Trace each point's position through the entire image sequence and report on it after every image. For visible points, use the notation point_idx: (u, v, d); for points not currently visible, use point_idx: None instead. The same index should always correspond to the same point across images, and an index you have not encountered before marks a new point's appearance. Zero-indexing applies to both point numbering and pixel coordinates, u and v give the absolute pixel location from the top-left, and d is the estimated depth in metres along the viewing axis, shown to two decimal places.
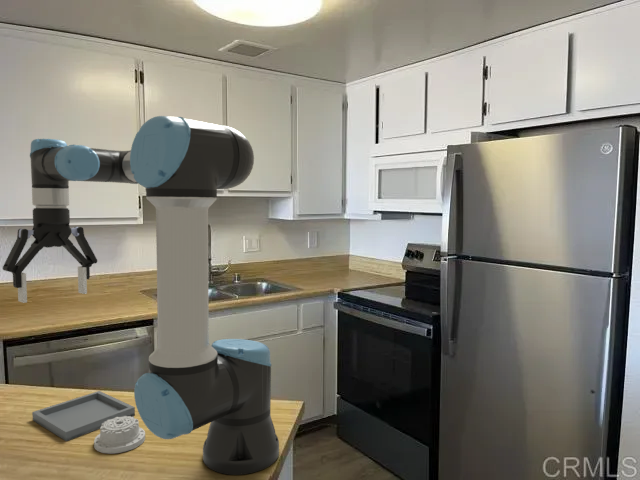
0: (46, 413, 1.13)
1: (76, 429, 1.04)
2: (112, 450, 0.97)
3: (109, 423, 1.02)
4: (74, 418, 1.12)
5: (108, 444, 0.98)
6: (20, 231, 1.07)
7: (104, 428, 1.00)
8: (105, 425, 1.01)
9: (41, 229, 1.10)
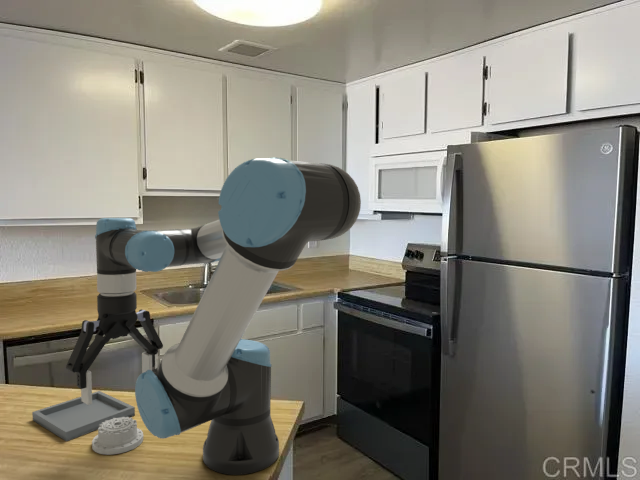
0: (46, 413, 1.13)
1: (76, 429, 1.04)
2: (110, 451, 0.97)
3: (107, 424, 1.01)
4: (74, 418, 1.12)
5: (106, 445, 0.98)
6: (85, 324, 0.95)
7: (102, 429, 0.99)
8: (103, 426, 1.00)
9: (107, 320, 0.97)
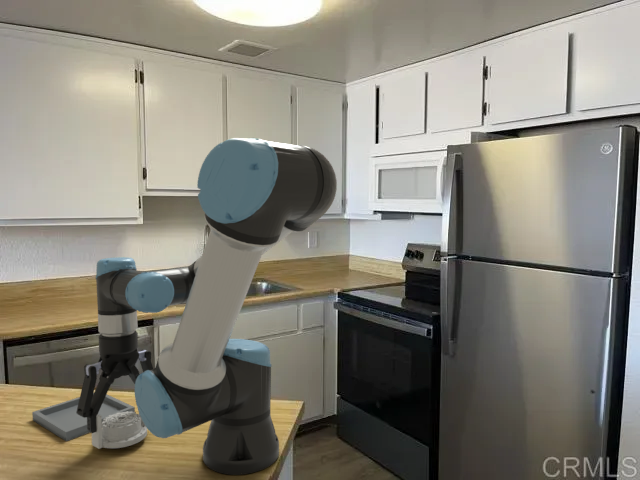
0: (46, 413, 1.13)
1: (76, 429, 1.04)
2: (114, 445, 0.97)
3: (111, 418, 1.01)
4: (74, 418, 1.12)
5: (110, 439, 0.98)
6: (87, 369, 0.95)
7: (106, 423, 0.99)
8: (107, 420, 1.00)
9: (108, 360, 0.98)
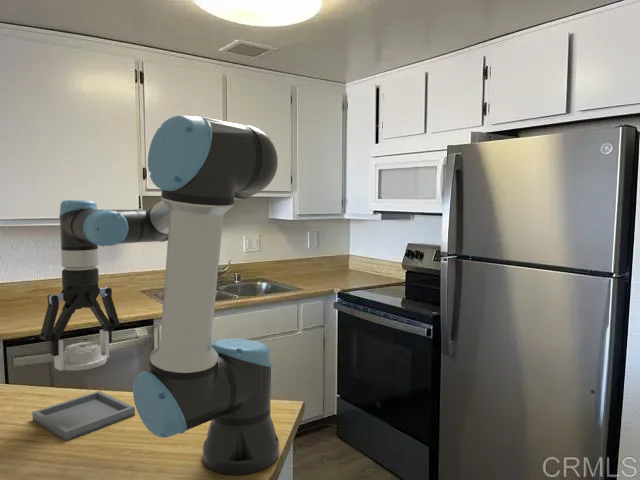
0: (46, 413, 1.13)
1: (76, 429, 1.04)
2: (74, 367, 1.07)
3: (73, 346, 1.12)
4: (74, 418, 1.12)
5: (71, 362, 1.08)
6: (50, 298, 1.05)
7: (68, 349, 1.10)
8: (69, 347, 1.11)
9: (70, 291, 1.08)
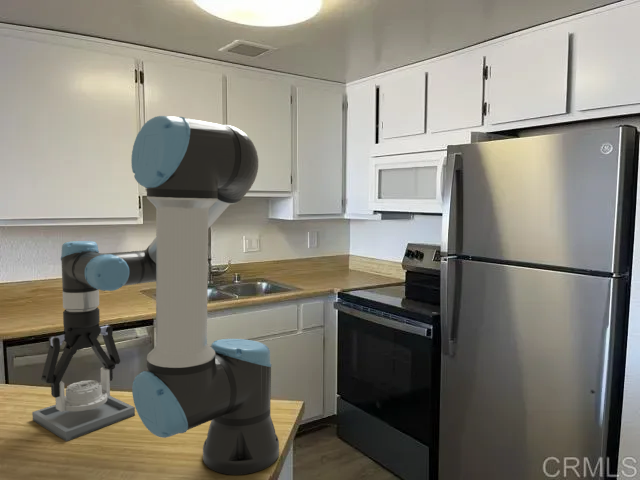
0: (46, 413, 1.13)
1: (76, 429, 1.04)
2: (75, 408, 1.08)
3: (74, 385, 1.12)
4: (74, 418, 1.12)
5: (72, 403, 1.09)
6: (51, 340, 1.06)
7: (69, 389, 1.11)
8: (70, 387, 1.11)
9: (71, 333, 1.09)
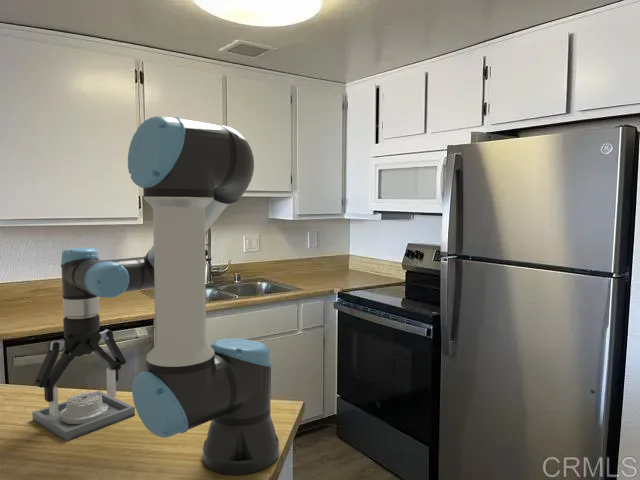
0: (46, 413, 1.13)
1: (76, 429, 1.04)
2: (76, 421, 1.08)
3: (74, 397, 1.12)
4: None
5: (73, 416, 1.09)
6: (52, 344, 1.06)
7: (69, 402, 1.11)
8: (71, 399, 1.12)
9: (72, 339, 1.09)
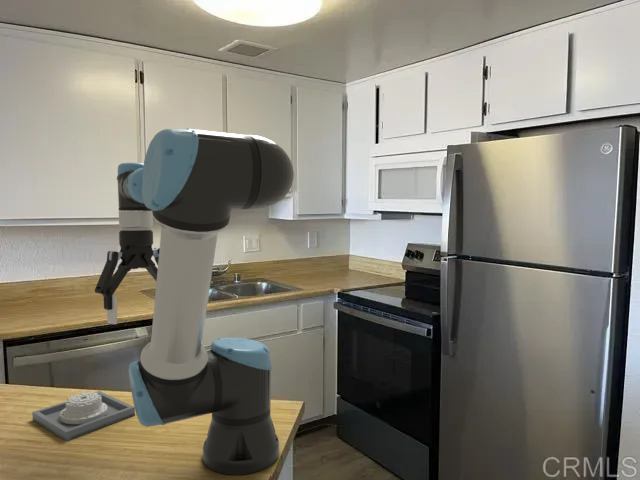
0: (46, 413, 1.13)
1: (76, 429, 1.04)
2: (75, 421, 1.08)
3: (74, 398, 1.12)
4: None
5: (72, 416, 1.09)
6: (111, 254, 1.09)
7: (69, 402, 1.11)
8: (70, 399, 1.11)
9: (129, 251, 1.12)
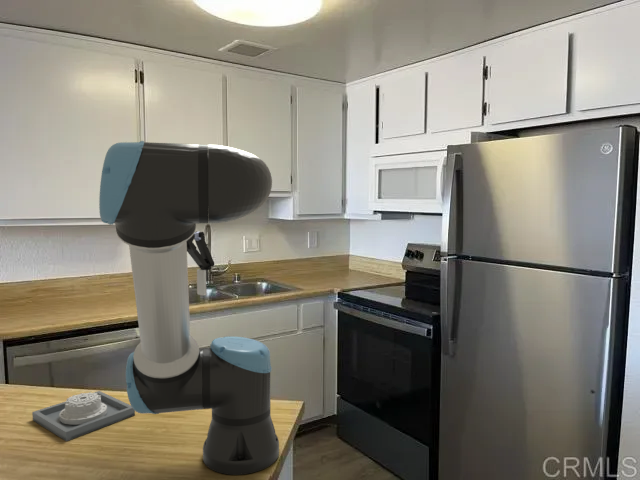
0: (46, 413, 1.13)
1: (76, 429, 1.04)
2: (74, 422, 1.08)
3: (73, 398, 1.12)
4: None
5: (71, 416, 1.09)
6: None
7: (68, 402, 1.10)
8: (69, 399, 1.11)
9: None
